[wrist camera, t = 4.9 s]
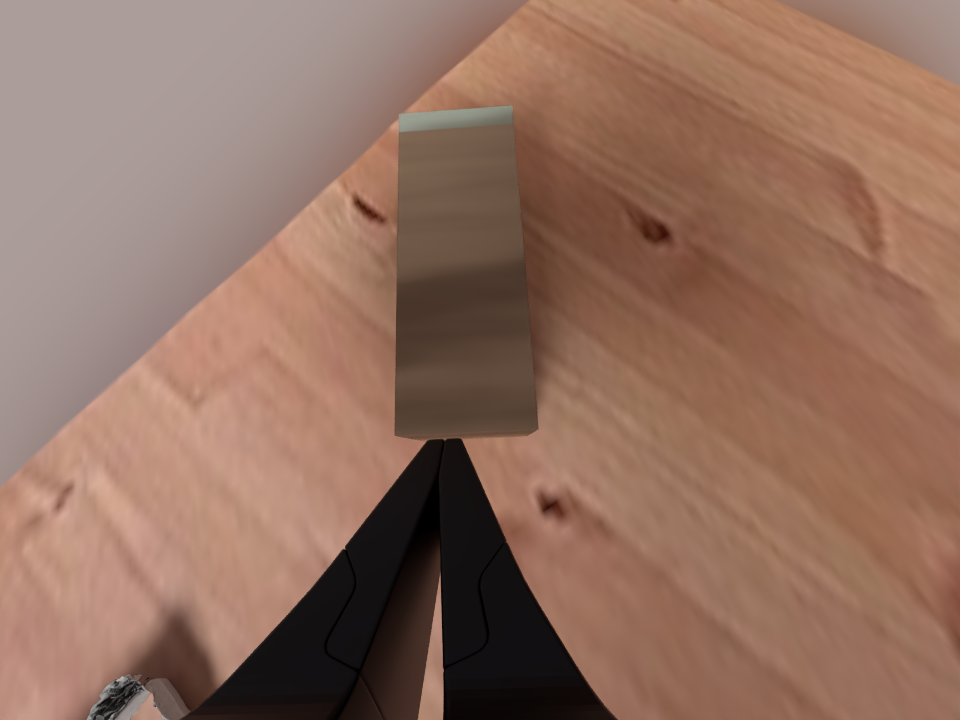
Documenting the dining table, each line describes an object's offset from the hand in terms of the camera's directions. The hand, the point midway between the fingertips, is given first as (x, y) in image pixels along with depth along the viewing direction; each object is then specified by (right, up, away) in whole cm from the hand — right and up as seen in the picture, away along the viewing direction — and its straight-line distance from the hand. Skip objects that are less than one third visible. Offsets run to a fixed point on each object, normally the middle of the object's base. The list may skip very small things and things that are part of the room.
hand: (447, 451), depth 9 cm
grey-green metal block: (+1, -1, +6) cm, 6 cm away
